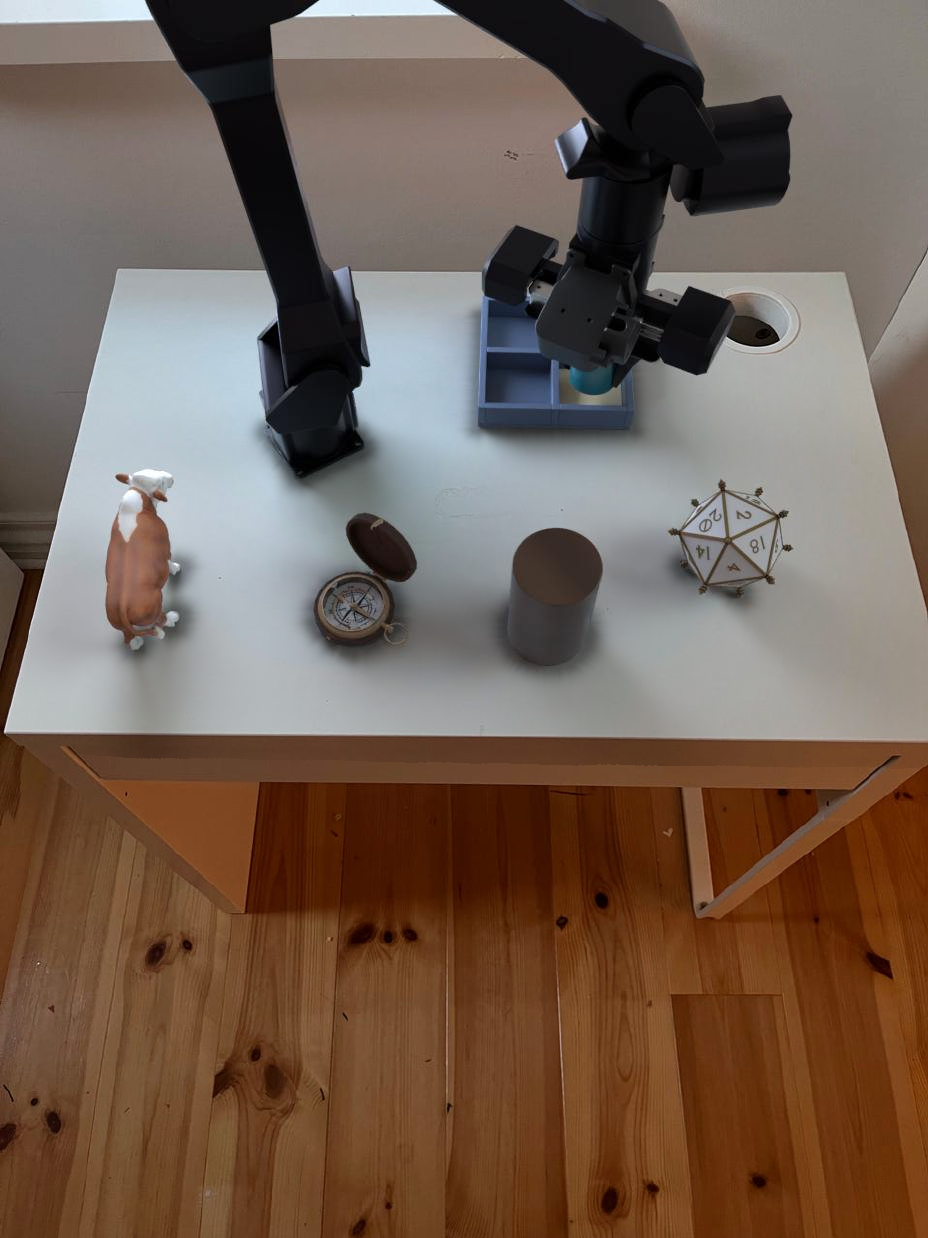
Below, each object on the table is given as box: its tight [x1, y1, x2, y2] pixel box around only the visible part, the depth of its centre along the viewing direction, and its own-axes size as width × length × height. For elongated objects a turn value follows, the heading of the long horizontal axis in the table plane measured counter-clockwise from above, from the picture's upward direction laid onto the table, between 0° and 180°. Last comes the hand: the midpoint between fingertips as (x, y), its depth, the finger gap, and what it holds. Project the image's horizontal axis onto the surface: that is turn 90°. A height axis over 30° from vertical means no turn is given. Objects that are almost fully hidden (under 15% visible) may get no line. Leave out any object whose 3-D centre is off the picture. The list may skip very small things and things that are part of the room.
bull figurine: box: [104, 469, 182, 651], centre depth 66 cm, size 4×13×8 cm, turn 179°
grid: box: [477, 294, 635, 430], centre depth 78 cm, size 13×13×2 cm
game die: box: [667, 478, 795, 598], centre depth 67 cm, size 9×8×10 cm
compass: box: [313, 512, 418, 647], centre depth 65 cm, size 8×8×7 cm
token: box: [569, 362, 618, 395], centre depth 74 cm, size 4×4×4 cm
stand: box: [507, 527, 604, 666], centre depth 64 cm, size 6×6×10 cm
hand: (592, 374), depth 75 cm, fingers closed on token, 4 cm apart
